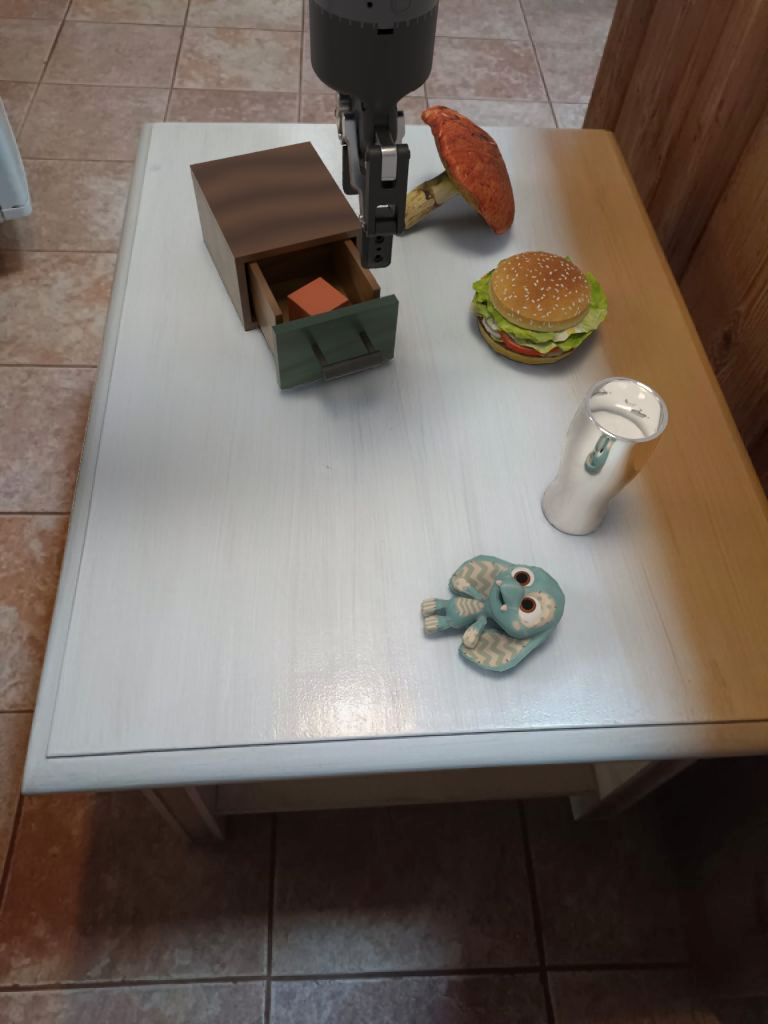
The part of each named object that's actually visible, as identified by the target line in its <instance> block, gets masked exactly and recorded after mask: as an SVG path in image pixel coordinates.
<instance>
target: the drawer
mask: <svg viewBox="0 0 768 1024" xmlns="http://www.w3.org/2000/svg"><path fill="white" fill-rule="evenodd" d="M244 266H245V274H246V281H247V289H248V296H249V304H250V307H251V309H252V311H253V313H254V315H255V317H256V319H257V321H258V323H259V326H260V327H259V328H260V330H261V332H262V334H263V336H264V338H265V340H266V342H267V345H268V346H269V349H270V351H271V353H272V355H273V358H274V363H275V364H274V365H275V372H276V373H275V374H276V381H277V382H276V383H277V385H278V387H279V389H280V392H281V391H282V392H283V391H286V390H289V389H292V388H296V387H299V386H303V385H307V384H310V383H314V382H316V381H320V380H324V381H325V382H327V381H330V380H335V379H337V378H340V377H344V376H347V375H351V374H355V373H358V372H362V371H365V370H369V369H372V368H375V367H379V366H382V365H384V362H386V361H390V360H393V359H394V358H395V347H396V336H397V327H398V319H399V318H398V316H399V307H400V300H399V299H398V297H397V296H396V294H395V293H392V294H389V295H385V296H381V288H382V287H381V286H380V285H379V283H378V281H377V280H376V278H375V276H374V275H373V273H372V271H371V269H364V268H363V267H362V266H361V262H360V253H359V252H358V250H357V249H356V247H355V245H354V244H353V242H352V240H351V239H350V238H347V239H343V240H339V241H335V242H331V243H326V244H322V245H318V246H314V247H310V248H305V249H301V250H297V251H293V252H288V253H284V254H280V255H276V256H272V257H267V258H263V259H259V260H255V261H251V262H246V263H244ZM319 277H321V278H322V279H323V280H325V281H326V282H327V283H329V284H330V285H331V286H332V287H334V288H335V289H336V290H337V291H339V292H340V293H341V294H342V295H344V296H345V297H346V298H347V299H348V300H349V306H347V307H343V308H339V309H335V310H331V311H328V312H324V313H320V314H316V315H312V316H309V317H305V318H301V319H297V320H293V321H290V322H289V309H288V295H290V294H292V293H293V292H295V291H297V290H299V289H300V288H302V287H304V286H305V285H307V284H309V283H310V282H312V281H314V280H316V279H317V278H319Z"/></svg>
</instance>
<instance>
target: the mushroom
mask: <svg viewBox="0 0 768 1024" xmlns="http://www.w3.org/2000/svg"><path fill="white" fill-rule="evenodd" d="M420 119H421V120H422V122H423V123H424V124H425V125H427V126H429V128H430V131H431V135H432V136H433V139H434V145H435V148H436V151H437V153H438V157H439V159H440V162H441V164H442V166H443V168H444V170H443V171H442V172H441V173H440V174H438V175H436V176H435V177H433V178H431V179H429V180H426V181H424V182H422V183H420V184H419V185H417V186H416V187H414V188H413V189H412V190H410V191H409V192H407V198H406V211H405V229H408V230H409V229H411V228H412V227H413V226H415V225H416V224H418V223H419V222H420V221H421V220H423V219H424V218H425V217H427V216H428V215H429V214H431V213H432V212H433V211H435V210H436V209H438V208H440V207H441V206H443V205H444V204H445V203H448V202H449V201H451V200H452V199H454V198H456V197H457V196H459V195H461V197H462V198H463V199H464V200H465V202H466V203H467V204H468V205H470V206H471V207H472V208H473V209H474V210H475V211H476V212H477V213H479V214H480V215H481V216H482V218H483V220H484V221H485V223H486V224H487V225H488V226H490V228H491V230H492V232H493V234H494V235H498V236H502V235H505V234H506V233H507V232H508V231H509V229H510V228H511V227H512V225H513V223H514V221H515V217H516V216H515V215H516V203H515V197H514V196H515V195H514V190H513V186H512V182H511V178H510V175H509V172H508V168H507V165H506V162H505V160H504V158H503V155H502V153H501V149H500V148H499V145H498V143H497V142H496V140H495V138H493V137H492V135H490V134H489V133H488V132H487V131H486V130H484V129H483V128H482V127H481V126H479V125H478V124H476V123H475V122H474V121H473V120H471V119H470V118H468V117H466V116H465V115H463V114H461V113H459V112H458V111H457V110H454V109H452V108H450V107H448V106H446V105H440V104H439V105H434V106H430V107H428V108H426V109H424V110H422V112H421V115H420Z"/></svg>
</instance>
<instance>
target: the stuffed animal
mask: <svg viewBox="0 0 768 1024" xmlns="http://www.w3.org/2000/svg"><path fill="white" fill-rule="evenodd" d="M448 588H449V590H450V591H451V592H453V593H455V594H456V595H458V596H455V597H450V598H449V599H442V598H436V597H433V598H426V599H423V600H422V602H421V604H420V610H421V613H422V614H423V615H424V616H425V617H424V620H423V621H422V622H423V623H422V626H423V630H424V631H425V632H426V633H427V634H429V635H430V634H439V633H441V632H443V631H445V630H447V629H450V628H453V629H464V628H467V629H466V630H465V632H464V633H463V635H462V637H461V641H462V643H461V644H460V645H459V647H458V649H457V651H458V652H459V653H460V654H461V655H462V657H464V658H465V659H467V660H469V661H470V662H472V663H473V664H475V665H476V666H478V667H480V668H482V669H486V670H491V671H495V672H500V673H502V672H505V671H507V670H509V669H511V668H513V667H515V666H516V665H518V664H519V663H520V662H521V661H522V660H523V659H524V658H526V656H527V655H528V654H529V653H531V652H532V651H533V650H534V649H535V648H537V647H538V646H540V645H541V644H542V643H545V641H546V640H547V639H549V638H550V637H551V636H552V634H553V633H554V631H555V630H556V627H557V626H558V624H559V623H560V621H561V619H562V617H563V615H564V612H565V611H564V610H565V605H566V596H565V594H564V591H563V590H562V588H561V587H560V584H559V582H558V581H557V580H556V579H555V578H554V577H553V576H551V574H550V573H548V572H547V571H546V570H544V569H543V568H542V567H540V566H535V565H527V564H519V563H518V564H515V563H512V562H510V561H507V560H505V559H502V558H499V557H498V556H494V555H487V554H479V555H476V556H475V557H474V556H473V557H472V558H470V559H467V560H465V561H464V562H463V563H462V564H461V565H460V566H459V567H458V568H457V569H456V570H455V571H454V572H453V573H452V574H451V577H450V579H449V581H448ZM442 612H445V616H444V615H439V613H442ZM437 614H438V615H437ZM489 618H490V619H492V620H493V621H494V622H495V623H496V624H497V625H498V626H499V627H500V628H501V629H502V630H503V631H502V630H499V629H496V628H489V629H485V630H484V628H485V626H486V625H487V623H488V619H489Z"/></svg>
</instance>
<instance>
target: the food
mask: <svg viewBox="0 0 768 1024" xmlns="http://www.w3.org/2000/svg"><path fill="white" fill-rule="evenodd" d="M471 285H472V290H473V291H475V292H474V295H473V299H472V300H471V302H470V311H471V313H472V314H473V315H474V316H476V317H477V321H478V329H479V331H480V333H481V335H482V336H483V338H484V340H485V343H487V344H488V345H489V346H490V347H491V348H492V349H493V350H494V351H495V352H496V353H498V354H499V355H502V356H505V358H509V359H510V360H512V361H515V362H519V363H523V364H527V365H540V364H553V363H555V362H557V361H559V360H561V359H564V358H565V357H567V356H570V355H571V354H572V353H573V352H574V351H575V350H576V349H577V347H579V346H580V345H581V344H582V343H583V341H584V340H585V339H586V338H588V336H589V335H591V334H592V333H593V332H594V330H597V329H598V327H599V326H600V324H601V323H602V322H603V321H604V320H605V319H606V317H607V315H608V312H609V311H608V309H609V304H608V298H607V296H606V295H605V292H604V291H603V289H602V286H601V283H600V282H599V281H597V279H596V278H595V277H594V275H593V274H592V273H591V272H589V271H587V272H586V274H585V273H584V272H583V271H582V270H581V269H580V268H579V267H578V265H576V264H574V263H573V261H572V260H571V258H570V256H566V257H563V256H561V255H558V254H556V253H555V254H554V253H550V252H545V251H541V250H540V251H534V250H533V251H532V250H531V251H525V252H521V253H518V254H517V253H516V254H513V255H511V256H509V257H506V258H504V259H500V260H499V262H498V263H497V265H496V268H493V269H491V270H490V271H488V272H487V273H485V274H484V275H483V276H482V277H480V279H479V280H476V281H474V282H472V284H471Z"/></svg>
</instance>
